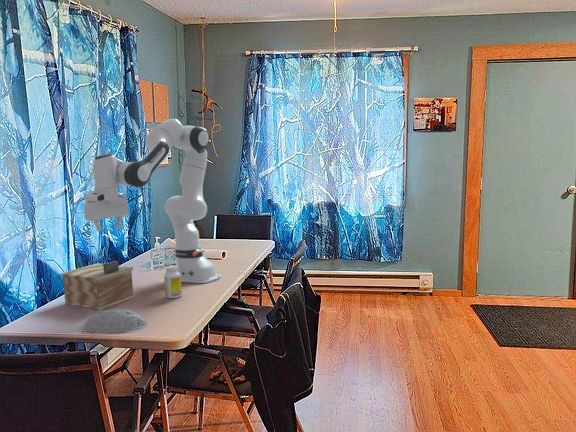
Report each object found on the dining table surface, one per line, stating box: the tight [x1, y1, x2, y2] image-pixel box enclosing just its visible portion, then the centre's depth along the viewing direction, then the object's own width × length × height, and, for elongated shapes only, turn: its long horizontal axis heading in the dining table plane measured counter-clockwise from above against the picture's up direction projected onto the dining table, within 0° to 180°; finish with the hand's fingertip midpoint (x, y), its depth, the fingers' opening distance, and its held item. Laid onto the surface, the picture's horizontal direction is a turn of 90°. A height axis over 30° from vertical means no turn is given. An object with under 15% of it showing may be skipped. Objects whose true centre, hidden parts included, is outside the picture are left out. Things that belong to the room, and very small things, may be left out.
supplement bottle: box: [163, 265, 183, 299], centre depth 224 cm, size 7×7×13 cm
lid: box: [60, 260, 134, 280], centre depth 220 cm, size 21×19×5 cm
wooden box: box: [62, 270, 134, 311], centre depth 221 cm, size 20×18×12 cm
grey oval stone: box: [83, 309, 149, 334], centre depth 192 cm, size 16×25×7 cm, turn 80°
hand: (108, 229), depth 215 cm, fingers open, 8 cm apart
